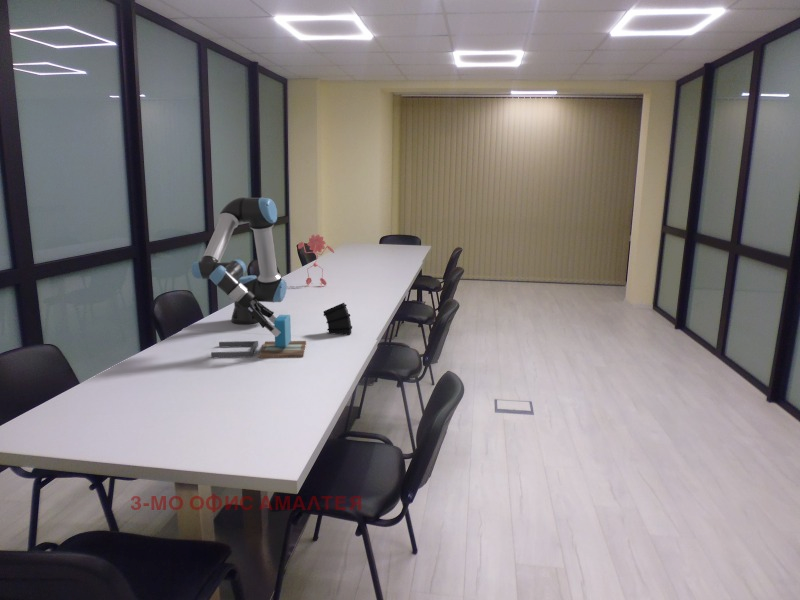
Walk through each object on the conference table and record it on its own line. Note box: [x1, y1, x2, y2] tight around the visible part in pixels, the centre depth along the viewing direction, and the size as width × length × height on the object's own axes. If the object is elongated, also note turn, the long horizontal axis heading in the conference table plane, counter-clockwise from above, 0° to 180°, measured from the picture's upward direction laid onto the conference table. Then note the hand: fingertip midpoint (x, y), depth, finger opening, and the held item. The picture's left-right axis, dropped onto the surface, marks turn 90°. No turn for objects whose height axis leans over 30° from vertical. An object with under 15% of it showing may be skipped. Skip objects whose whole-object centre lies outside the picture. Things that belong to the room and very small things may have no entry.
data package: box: [273, 314, 292, 347], centre depth 244 cm, size 12×4×12 cm, turn 0°
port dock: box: [258, 340, 307, 359], centre depth 246 cm, size 20×18×1 cm
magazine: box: [323, 302, 353, 336], centre depth 272 cm, size 4×13×15 cm, turn 76°
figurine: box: [297, 234, 335, 287], centre depth 389 cm, size 15×26×35 cm, turn 80°
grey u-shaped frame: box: [210, 340, 259, 359], centre depth 244 cm, size 16×17×2 cm
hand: (280, 330), depth 244 cm, fingers closed on data package, 12 cm apart
